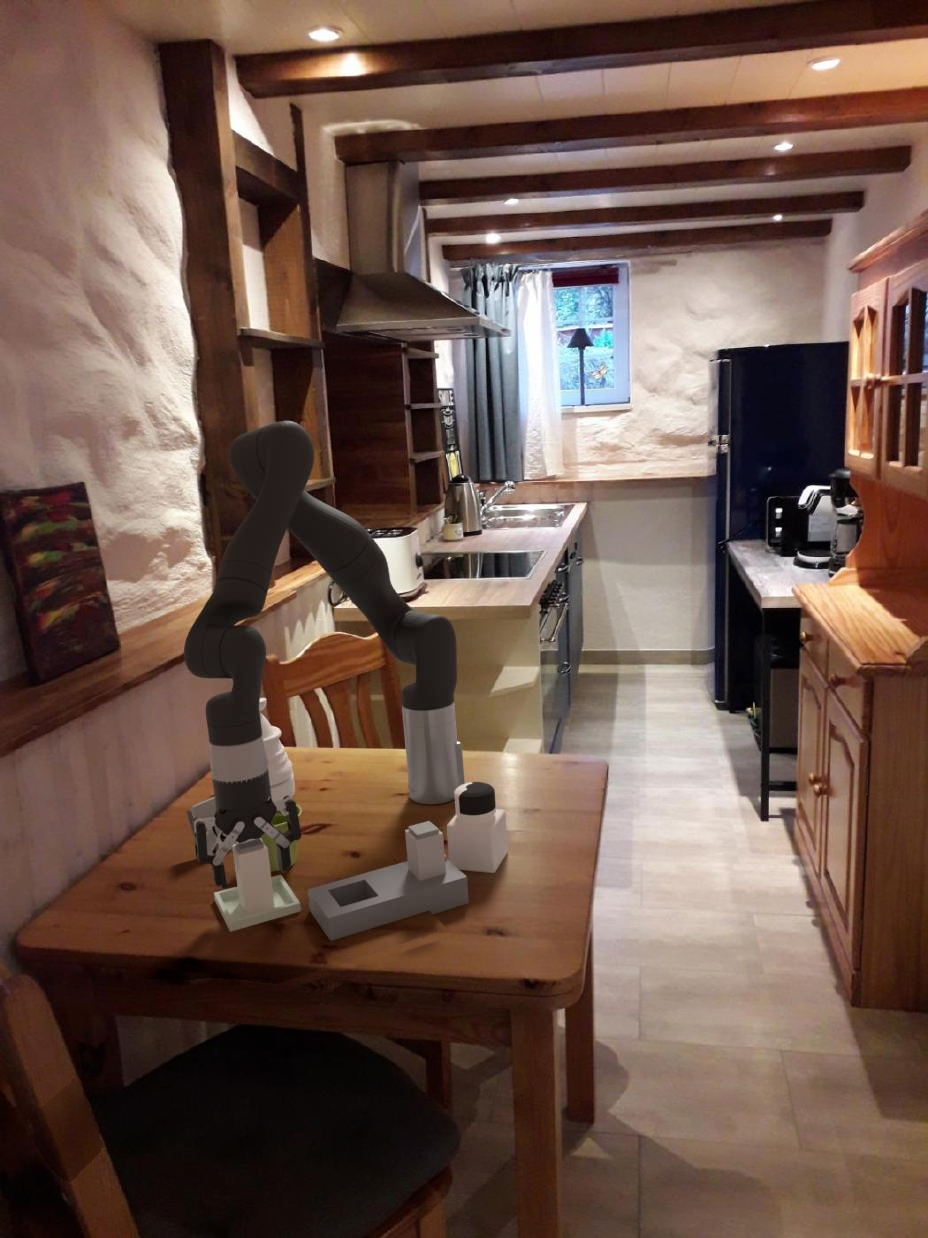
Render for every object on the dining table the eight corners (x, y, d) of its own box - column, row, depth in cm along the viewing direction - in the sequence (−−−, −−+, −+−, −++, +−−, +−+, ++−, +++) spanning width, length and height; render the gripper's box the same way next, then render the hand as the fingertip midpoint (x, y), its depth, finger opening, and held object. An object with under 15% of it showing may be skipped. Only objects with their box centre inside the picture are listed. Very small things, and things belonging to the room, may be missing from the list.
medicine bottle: (508, 852, 146) (503, 779, 143) (494, 874, 139) (489, 798, 136) (464, 848, 148) (459, 776, 145) (449, 869, 141) (443, 794, 139)
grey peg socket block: (441, 877, 139) (436, 809, 137) (468, 903, 131) (463, 832, 129) (310, 915, 131) (302, 845, 129) (331, 946, 123) (323, 871, 121)
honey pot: (281, 776, 183) (271, 687, 180) (305, 797, 172) (295, 703, 169) (216, 793, 177) (203, 701, 173) (236, 816, 166) (223, 718, 163)
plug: (267, 895, 136) (259, 833, 134) (274, 907, 132) (267, 844, 130) (239, 903, 134) (231, 840, 132) (246, 916, 130) (238, 851, 128)
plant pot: (240, 861, 149) (234, 810, 147) (299, 847, 152) (293, 796, 150) (252, 886, 140) (245, 832, 138) (314, 871, 144) (308, 818, 142)
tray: (282, 887, 140) (280, 874, 139) (301, 916, 131) (300, 903, 131) (215, 905, 135) (213, 892, 135) (230, 937, 127) (229, 923, 126)
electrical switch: (210, 865, 148) (199, 808, 147) (191, 860, 152) (180, 804, 150) (257, 842, 156) (247, 788, 154) (238, 837, 159) (228, 785, 157)
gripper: (283, 750, 135) (295, 855, 138) (181, 772, 129) (196, 881, 132) (298, 765, 128) (310, 875, 132) (191, 789, 122) (207, 904, 126)
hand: (253, 878), depth 132 cm, fingers open, 8 cm apart
